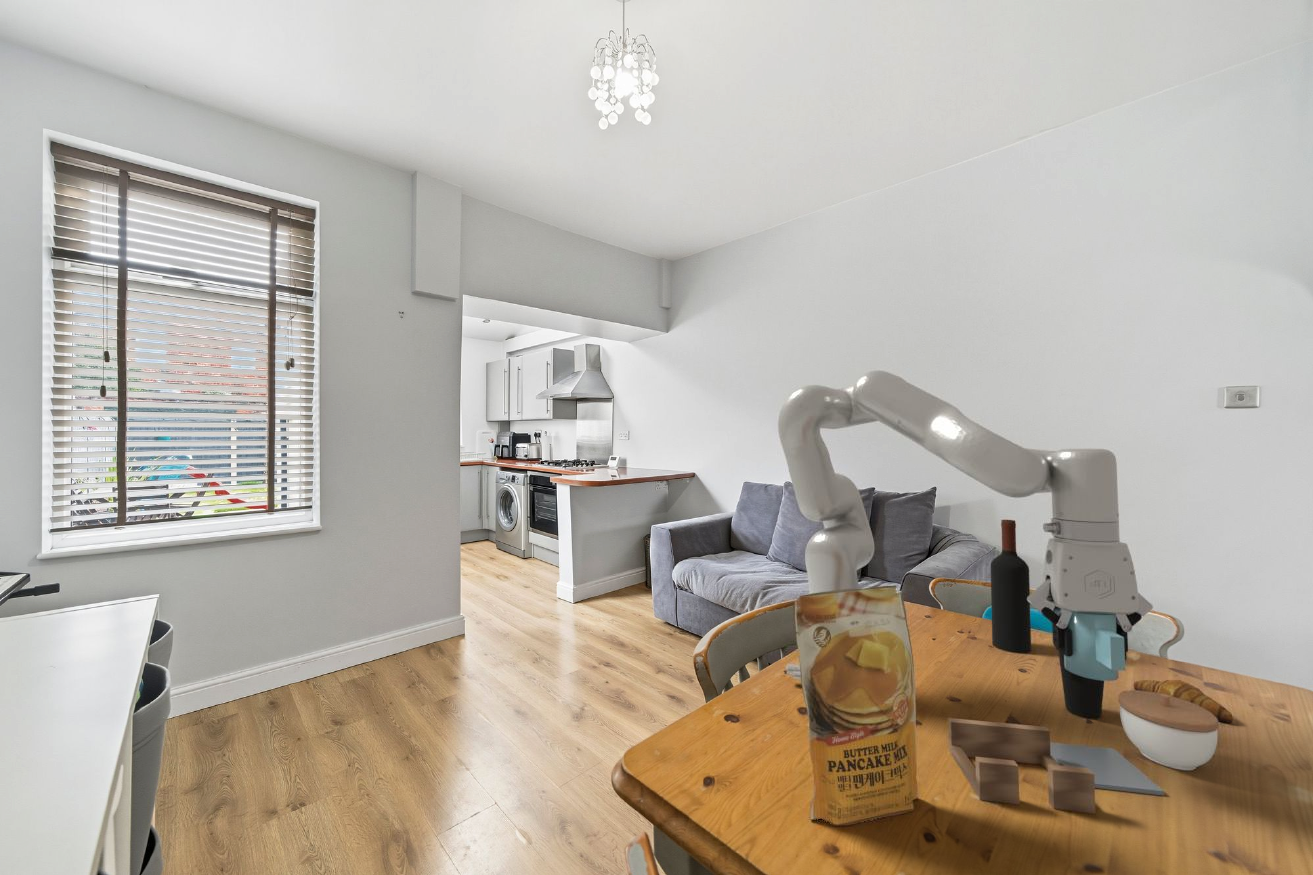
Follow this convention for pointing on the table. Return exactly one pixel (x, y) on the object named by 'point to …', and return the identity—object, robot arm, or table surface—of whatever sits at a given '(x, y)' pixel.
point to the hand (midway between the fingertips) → (1089, 653)
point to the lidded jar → (1168, 729)
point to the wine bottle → (1010, 596)
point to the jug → (1095, 646)
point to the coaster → (1105, 768)
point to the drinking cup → (1081, 693)
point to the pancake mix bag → (858, 702)
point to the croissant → (1185, 695)
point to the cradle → (998, 766)
